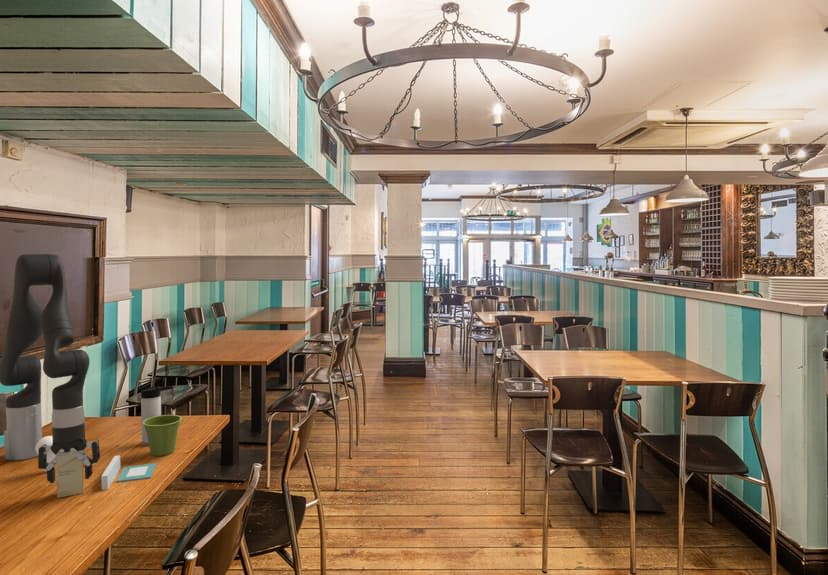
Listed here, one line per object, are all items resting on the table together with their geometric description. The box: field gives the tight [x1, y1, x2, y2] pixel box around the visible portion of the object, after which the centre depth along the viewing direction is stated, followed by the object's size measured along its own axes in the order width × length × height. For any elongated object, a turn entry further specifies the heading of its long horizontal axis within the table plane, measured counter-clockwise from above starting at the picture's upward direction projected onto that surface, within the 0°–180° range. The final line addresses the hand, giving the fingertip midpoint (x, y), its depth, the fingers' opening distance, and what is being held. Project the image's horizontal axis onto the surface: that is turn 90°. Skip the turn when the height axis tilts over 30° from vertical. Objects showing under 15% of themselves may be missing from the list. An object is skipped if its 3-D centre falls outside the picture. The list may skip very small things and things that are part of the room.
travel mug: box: [140, 386, 162, 446], centre depth 181 cm, size 6×7×20 cm
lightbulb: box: [35, 435, 56, 473], centre depth 155 cm, size 6×6×11 cm
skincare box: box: [56, 450, 84, 499], centre depth 141 cm, size 6×4×12 cm
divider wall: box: [100, 455, 121, 491], centre depth 151 cm, size 2×16×4 cm, turn 19°
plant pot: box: [143, 414, 183, 457], centre depth 171 cm, size 12×12×11 cm
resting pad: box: [116, 462, 158, 483], centre depth 155 cm, size 9×11×1 cm
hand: (70, 480), depth 141 cm, fingers open, 8 cm apart
